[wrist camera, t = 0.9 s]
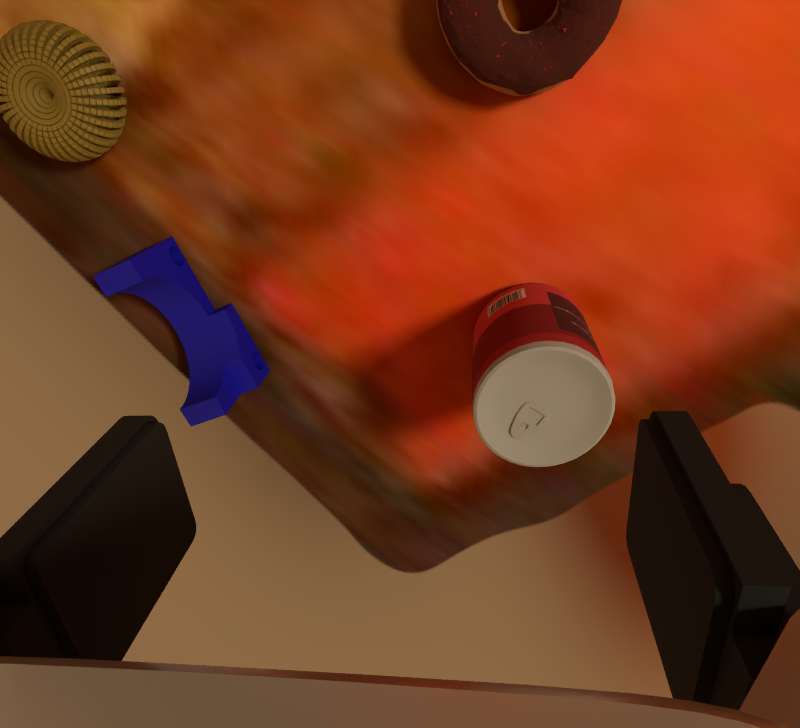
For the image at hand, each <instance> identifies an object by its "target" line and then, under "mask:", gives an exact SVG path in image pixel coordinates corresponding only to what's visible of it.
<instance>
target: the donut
mask: <svg viewBox="0 0 800 728" xmlns="http://www.w3.org/2000/svg"><path fill="white" fill-rule="evenodd" d="M621 2H622V0H557V5H556V7H555V10H554V12H553V13H552V15H551V16H550V18H549V19H548V20H547V21H546V22H545V23H544V24H543V25H541V26H539V27H537V28H535V29H533V30H530V31H525V32H521V31H517V30H515V29H514V28H513V27H512V26H511V24H510V23H509V21H508V19H507V17H506V14H505V12H504V9H503V5H502V1H501V0H436V7H437V14H438V19H439V23H440V26H441V29H442V32H443V34H444V37H445V40H446V42H447V44H448V46H449V48H450V50H451V51H452V53H453V54H454V56H455V57H456V59H457V60H458V61H459V63H460V64H461V65H462V67H463V68H465V69H466V70H467V71H468V72H469V73H470V74H471V75H472V76H473V77H474V78H475V79H476V80H477V81H479V82H480V83H481V84H483V85H485V86H487V87H489V88H492V89H494V90H496V91H498V92H501V93H503V94H507V95H512V96H525V95H533V94H538V93H542V92H544V91H547V90H549V89H552V88H554V87H556V86H558V85H560V84H561V83H563V82H565V81H567V80H568V79H571V78H573V76H574V75H575V74H576V73H577V72H578V71H579V70H580V69H581V67H582V66H583V65H584V64H585V63H586V62H587V61H588V59H589V58H590V57H591V56H592V55H593V54H594V52H595V51H596V50H597V49H598V47H599V46H600V45H601V44H602V43H603V41H604V39H605V38H606V36H607V34H608V32H609V30H610V29H611V27H612V25H613V23H614V21H615V20H616V18H617V15H618V12H619V9H620V5H621Z"/></svg>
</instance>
